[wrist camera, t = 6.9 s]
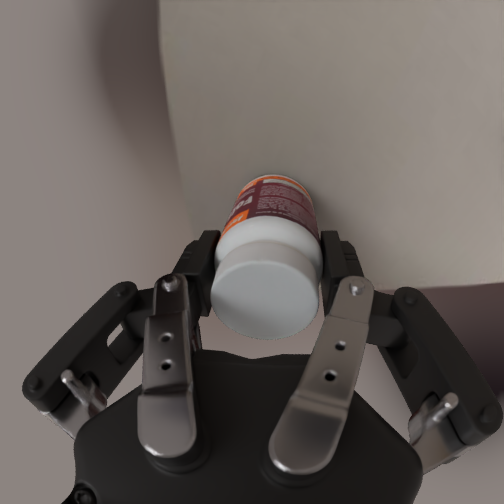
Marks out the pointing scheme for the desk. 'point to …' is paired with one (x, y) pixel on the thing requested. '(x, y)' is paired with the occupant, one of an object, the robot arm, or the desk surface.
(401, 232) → the desk surface
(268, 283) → the pill bottle
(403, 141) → the desk surface
